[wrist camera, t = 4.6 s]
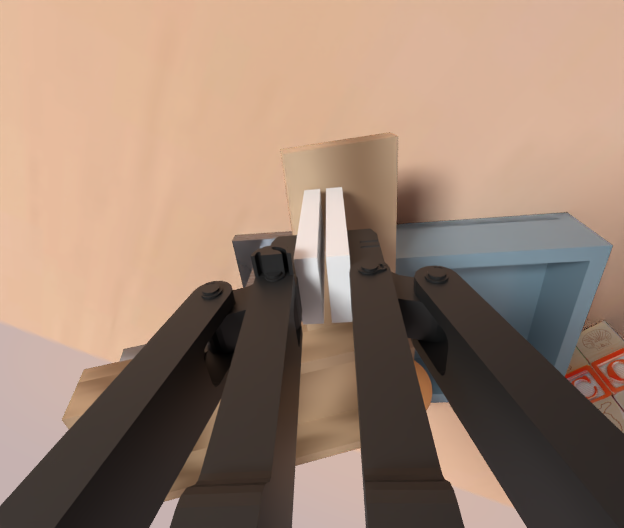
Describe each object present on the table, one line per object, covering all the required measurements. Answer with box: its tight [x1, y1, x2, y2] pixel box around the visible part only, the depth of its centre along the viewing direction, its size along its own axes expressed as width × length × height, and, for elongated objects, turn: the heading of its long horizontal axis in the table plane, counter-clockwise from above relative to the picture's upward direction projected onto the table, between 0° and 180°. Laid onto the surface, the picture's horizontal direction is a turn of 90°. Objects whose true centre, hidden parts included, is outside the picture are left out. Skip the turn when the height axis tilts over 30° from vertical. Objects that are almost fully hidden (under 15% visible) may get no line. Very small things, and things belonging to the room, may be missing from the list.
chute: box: [62, 132, 415, 502], centre depth 22 cm, size 20×20×6 cm
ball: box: [413, 360, 432, 410], centre depth 23 cm, size 4×4×4 cm
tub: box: [395, 212, 613, 403], centre depth 28 cm, size 13×14×5 cm
